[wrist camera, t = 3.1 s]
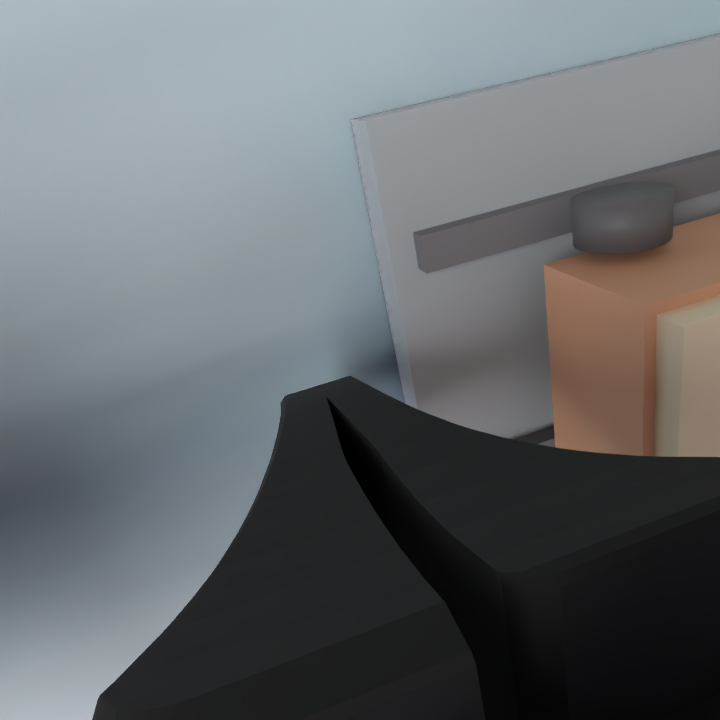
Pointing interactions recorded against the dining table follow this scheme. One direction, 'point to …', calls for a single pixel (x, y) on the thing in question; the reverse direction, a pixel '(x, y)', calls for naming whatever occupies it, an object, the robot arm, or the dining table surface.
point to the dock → (519, 215)
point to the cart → (636, 327)
